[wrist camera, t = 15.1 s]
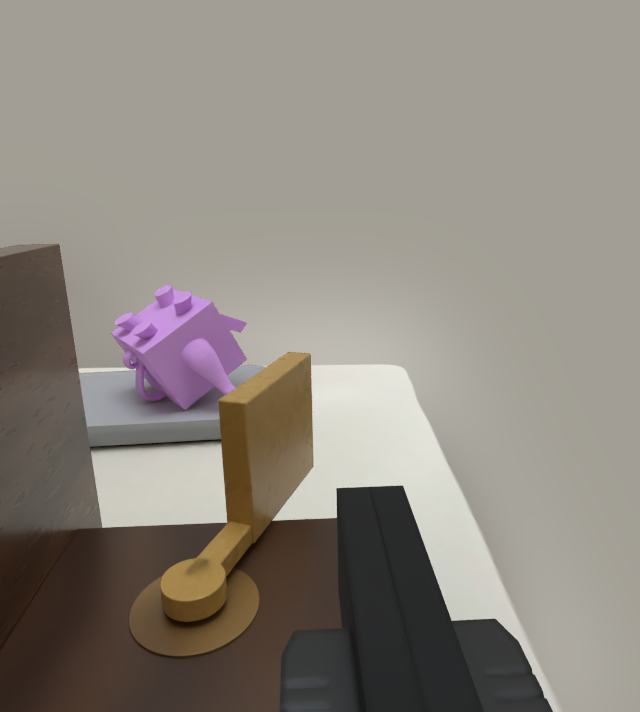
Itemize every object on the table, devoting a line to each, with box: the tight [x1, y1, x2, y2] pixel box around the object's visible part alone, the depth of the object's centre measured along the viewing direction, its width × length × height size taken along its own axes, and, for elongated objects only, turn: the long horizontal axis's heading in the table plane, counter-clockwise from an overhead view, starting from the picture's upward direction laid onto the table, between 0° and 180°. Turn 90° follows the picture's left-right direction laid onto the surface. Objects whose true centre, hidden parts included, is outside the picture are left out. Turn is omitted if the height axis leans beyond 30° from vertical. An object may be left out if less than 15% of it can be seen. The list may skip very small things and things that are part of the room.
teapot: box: [111, 285, 247, 410], centre depth 56 cm, size 18×13×10 cm
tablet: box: [79, 365, 266, 447], centre depth 58 cm, size 16×26×2 cm, turn 96°
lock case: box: [0, 244, 342, 712], centre depth 21 cm, size 16×18×20 cm
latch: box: [160, 352, 313, 622], centre depth 26 cm, size 13×3×7 cm, turn 160°
